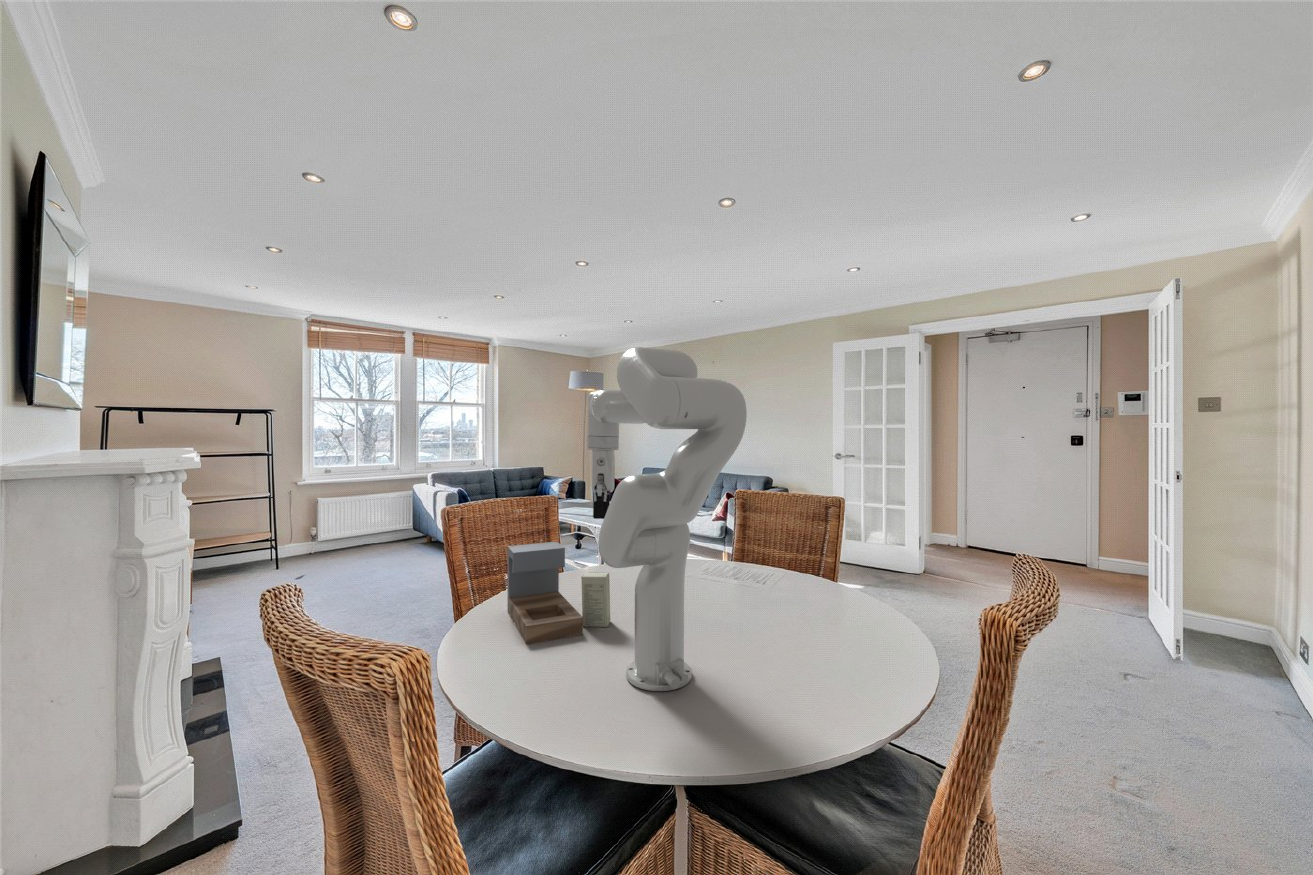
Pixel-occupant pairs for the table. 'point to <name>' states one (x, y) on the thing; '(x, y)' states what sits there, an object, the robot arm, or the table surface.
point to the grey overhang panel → (534, 568)
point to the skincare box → (596, 599)
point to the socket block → (545, 617)
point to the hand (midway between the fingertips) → (601, 514)
